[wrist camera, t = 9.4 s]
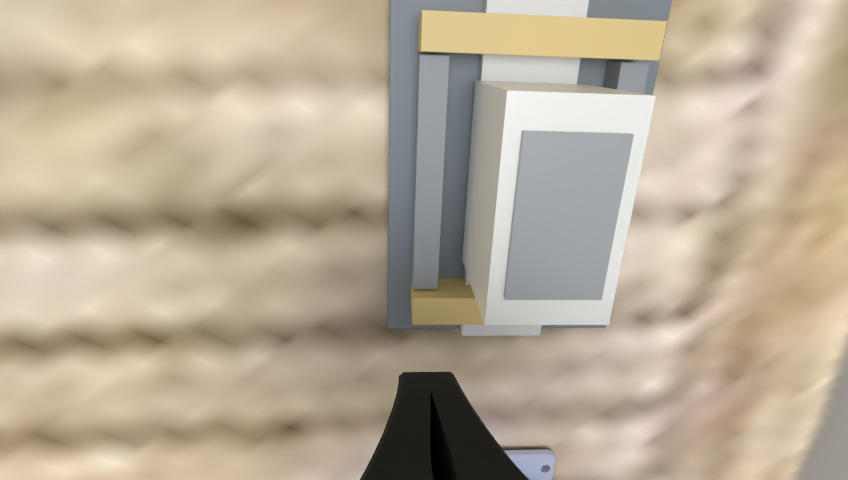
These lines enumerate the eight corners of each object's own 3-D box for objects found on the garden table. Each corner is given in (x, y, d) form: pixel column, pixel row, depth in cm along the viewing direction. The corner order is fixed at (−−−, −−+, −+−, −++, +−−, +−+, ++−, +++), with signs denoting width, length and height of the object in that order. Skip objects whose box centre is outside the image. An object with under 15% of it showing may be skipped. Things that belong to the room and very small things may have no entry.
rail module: (557, 260, 20) (611, 328, 15) (462, 260, 19) (485, 328, 15) (584, 84, 17) (660, 96, 12) (475, 80, 17) (508, 91, 12)
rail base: (596, 316, 23) (623, 350, 20) (387, 317, 22) (387, 352, 19) (659, -12, 18) (706, -23, 15) (390, -25, 17) (390, -39, 14)
